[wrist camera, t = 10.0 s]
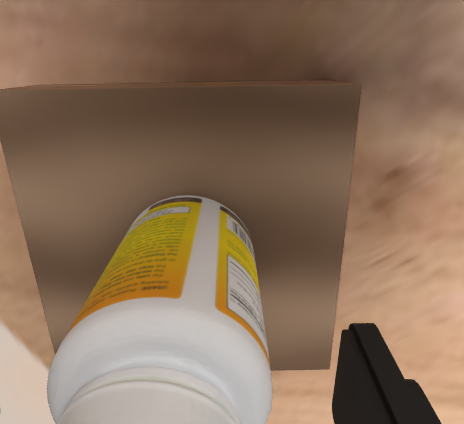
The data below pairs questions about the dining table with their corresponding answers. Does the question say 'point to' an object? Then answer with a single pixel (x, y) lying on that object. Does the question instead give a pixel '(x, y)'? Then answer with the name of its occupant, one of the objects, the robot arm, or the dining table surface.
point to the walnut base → (189, 186)
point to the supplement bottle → (169, 327)
